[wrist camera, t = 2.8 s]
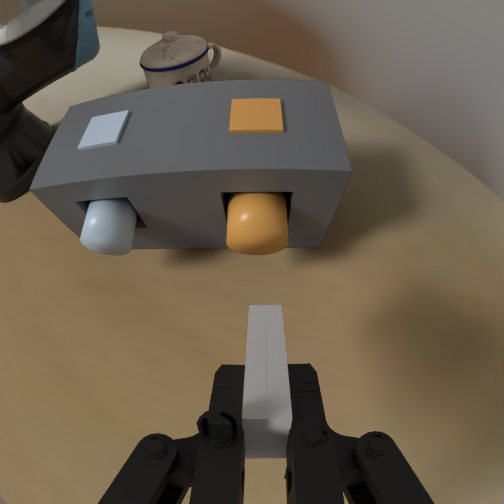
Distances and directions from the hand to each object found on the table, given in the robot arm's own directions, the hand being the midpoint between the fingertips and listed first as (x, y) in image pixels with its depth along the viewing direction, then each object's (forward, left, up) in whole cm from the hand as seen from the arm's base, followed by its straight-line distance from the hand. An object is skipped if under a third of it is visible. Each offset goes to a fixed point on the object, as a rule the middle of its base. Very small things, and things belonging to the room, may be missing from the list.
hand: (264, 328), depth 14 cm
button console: (-15, -4, -12) cm, 20 cm away
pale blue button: (-11, -11, -7) cm, 17 cm away
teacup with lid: (-35, -4, -12) cm, 37 cm away
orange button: (-8, +1, -7) cm, 11 cm away
